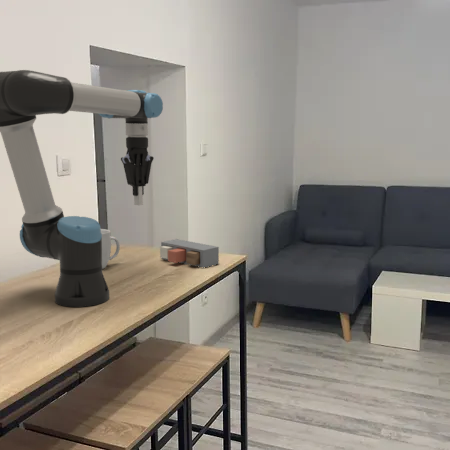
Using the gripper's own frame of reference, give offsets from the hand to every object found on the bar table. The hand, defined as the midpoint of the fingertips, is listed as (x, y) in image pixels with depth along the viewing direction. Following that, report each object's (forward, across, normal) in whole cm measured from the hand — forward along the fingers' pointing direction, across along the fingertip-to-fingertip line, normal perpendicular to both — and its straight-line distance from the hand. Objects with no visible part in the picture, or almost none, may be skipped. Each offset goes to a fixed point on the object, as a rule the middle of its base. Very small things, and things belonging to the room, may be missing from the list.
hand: (138, 204), depth 194 cm
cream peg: (+21, +16, 0) cm, 27 cm away
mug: (+23, -10, +10) cm, 27 cm away
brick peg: (+21, +14, -7) cm, 26 cm away
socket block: (+22, +18, -7) cm, 30 cm away
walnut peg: (+21, +16, -14) cm, 30 cm away
